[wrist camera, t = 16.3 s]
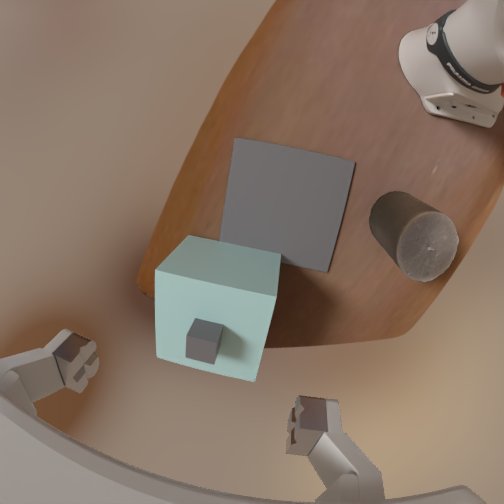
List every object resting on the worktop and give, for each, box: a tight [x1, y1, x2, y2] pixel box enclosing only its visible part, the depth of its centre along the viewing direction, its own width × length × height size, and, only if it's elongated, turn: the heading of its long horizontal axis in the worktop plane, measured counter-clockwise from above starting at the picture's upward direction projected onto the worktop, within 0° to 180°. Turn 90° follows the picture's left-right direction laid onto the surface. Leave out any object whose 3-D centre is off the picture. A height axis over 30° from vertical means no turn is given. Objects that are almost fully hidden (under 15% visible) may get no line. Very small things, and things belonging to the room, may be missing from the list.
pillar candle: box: [369, 191, 459, 282], centre depth 38 cm, size 10×10×15 cm
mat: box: [219, 137, 355, 272], centre depth 46 cm, size 19×19×1 cm
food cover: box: [155, 235, 281, 382], centre depth 44 cm, size 16×16×18 cm
